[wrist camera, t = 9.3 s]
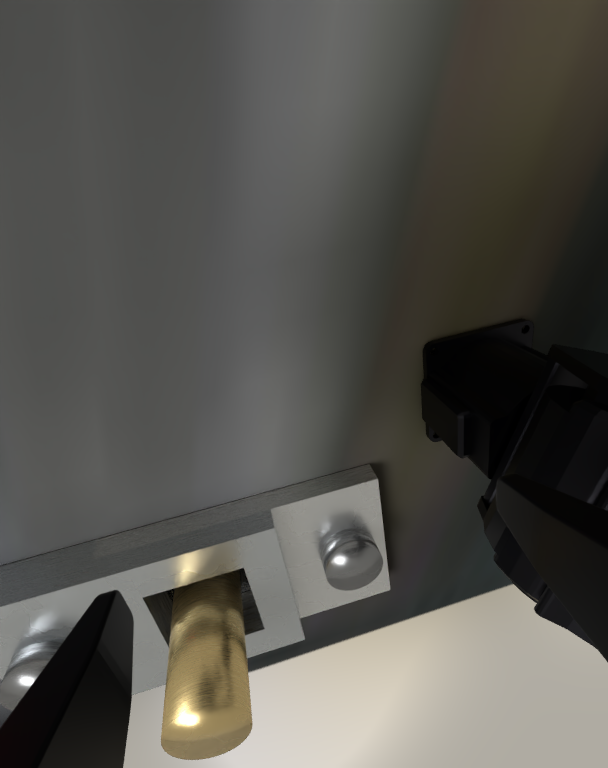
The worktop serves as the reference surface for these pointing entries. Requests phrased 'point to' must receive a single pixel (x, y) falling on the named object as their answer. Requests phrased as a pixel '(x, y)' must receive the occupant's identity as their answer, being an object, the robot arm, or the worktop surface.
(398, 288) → the worktop surface
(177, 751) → the brass pin
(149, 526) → the plate with square hole
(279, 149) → the worktop surface
